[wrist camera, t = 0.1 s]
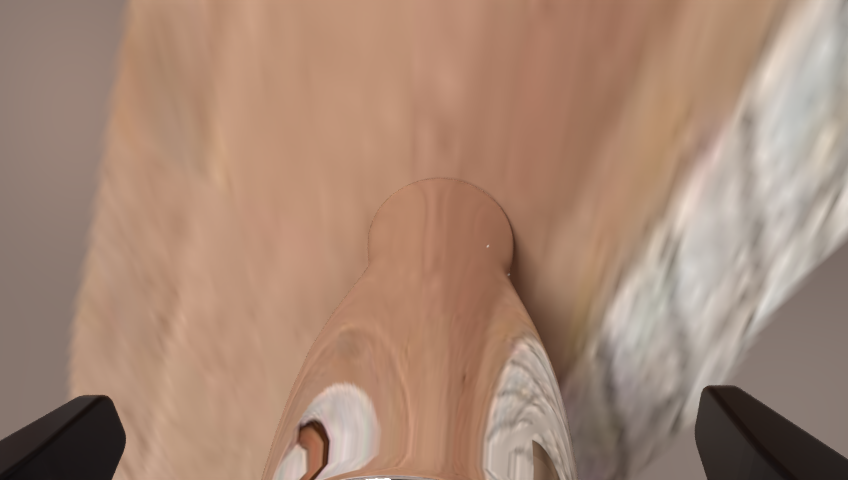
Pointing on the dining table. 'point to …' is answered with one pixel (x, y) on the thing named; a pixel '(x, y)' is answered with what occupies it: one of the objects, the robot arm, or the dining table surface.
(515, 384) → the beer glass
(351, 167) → the dining table surface
